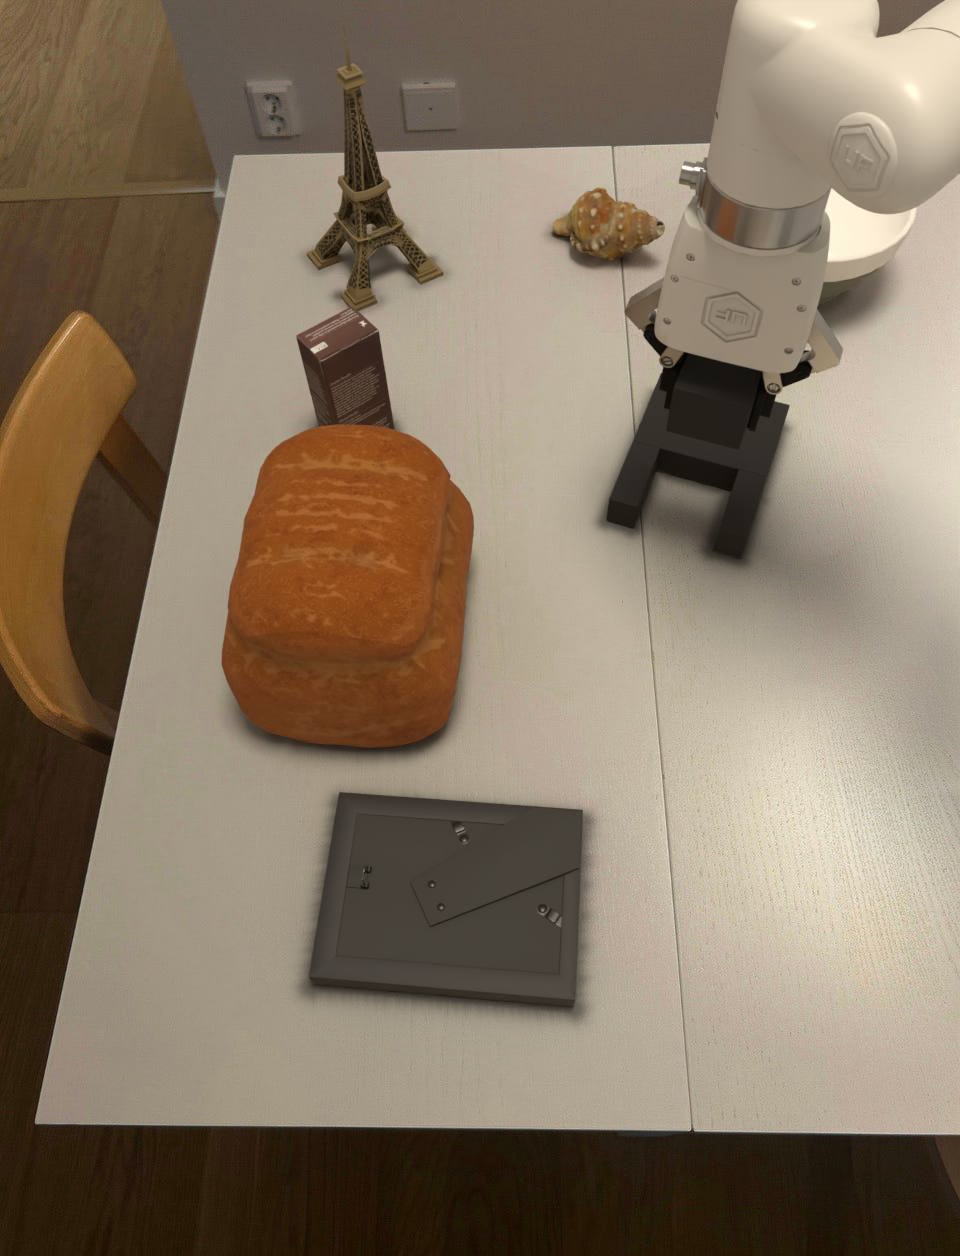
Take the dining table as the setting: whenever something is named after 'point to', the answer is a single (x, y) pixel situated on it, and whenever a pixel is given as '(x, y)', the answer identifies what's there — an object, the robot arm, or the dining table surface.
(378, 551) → the bread
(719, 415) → the dark grey square block
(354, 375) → the box
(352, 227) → the eiffel tower
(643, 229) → the seashell
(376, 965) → the picture frame
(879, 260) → the bowl
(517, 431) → the dining table surface
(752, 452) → the forked base block
